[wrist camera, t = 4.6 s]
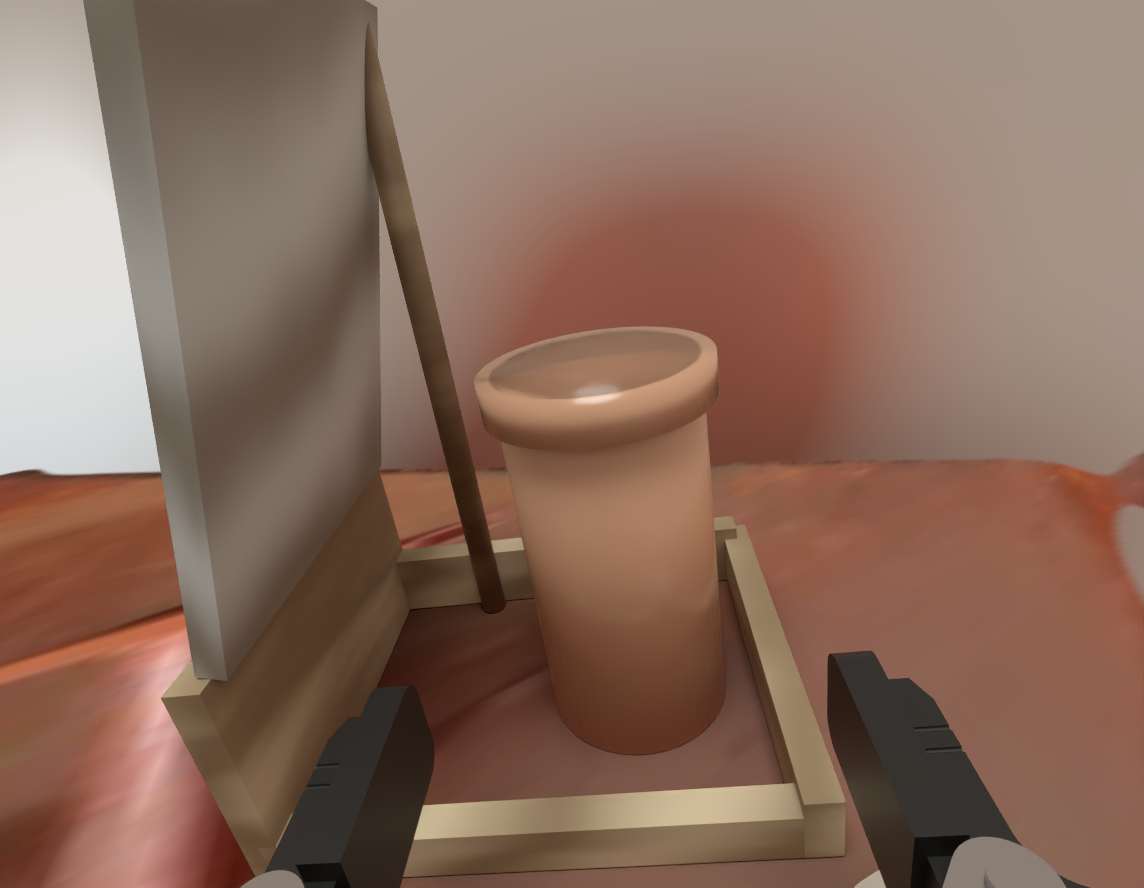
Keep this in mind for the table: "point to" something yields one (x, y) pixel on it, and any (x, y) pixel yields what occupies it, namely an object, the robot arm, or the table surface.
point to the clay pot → (617, 525)
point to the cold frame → (344, 444)
